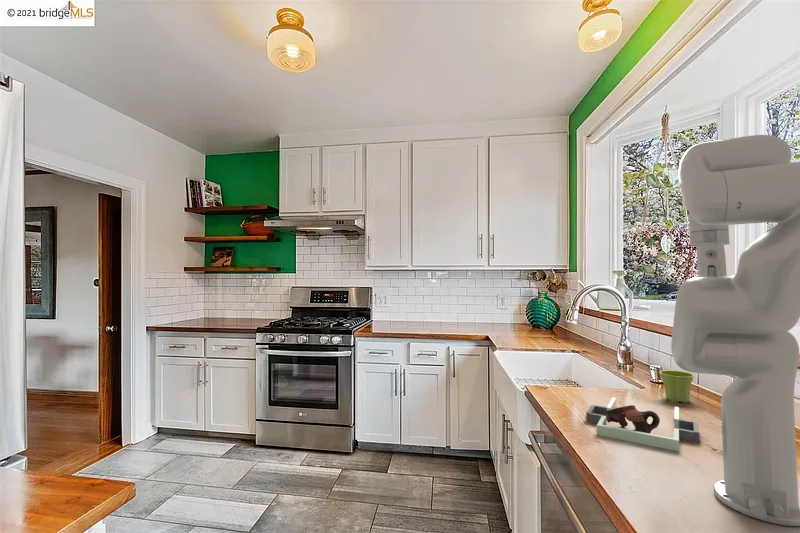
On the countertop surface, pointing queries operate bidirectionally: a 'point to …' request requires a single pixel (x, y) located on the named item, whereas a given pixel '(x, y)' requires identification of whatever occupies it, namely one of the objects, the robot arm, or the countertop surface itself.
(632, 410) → the pottery mug
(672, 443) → the pale green flat frame
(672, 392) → the plant pot
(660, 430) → the countertop surface
